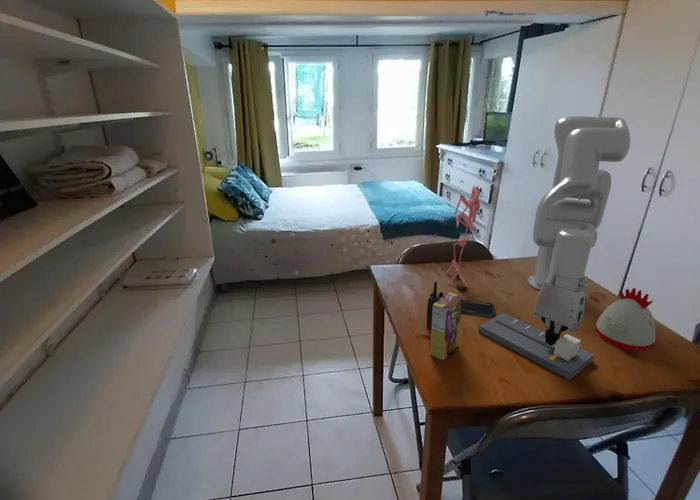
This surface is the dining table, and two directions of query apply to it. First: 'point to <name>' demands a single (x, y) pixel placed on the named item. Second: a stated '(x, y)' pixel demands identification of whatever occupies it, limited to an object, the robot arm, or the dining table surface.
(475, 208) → the figurine
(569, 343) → the fader cap
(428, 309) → the two-way radio
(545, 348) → the fader console
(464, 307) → the phone
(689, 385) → the dining table surface
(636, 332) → the kitchen timer
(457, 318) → the candy box
